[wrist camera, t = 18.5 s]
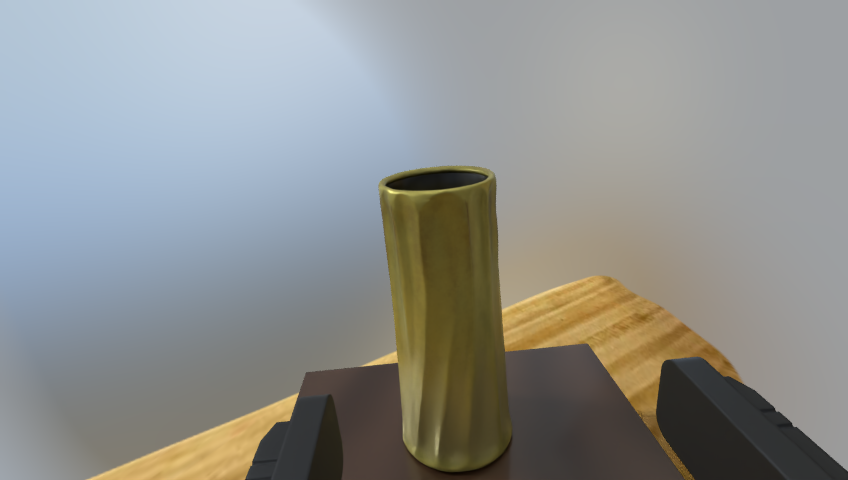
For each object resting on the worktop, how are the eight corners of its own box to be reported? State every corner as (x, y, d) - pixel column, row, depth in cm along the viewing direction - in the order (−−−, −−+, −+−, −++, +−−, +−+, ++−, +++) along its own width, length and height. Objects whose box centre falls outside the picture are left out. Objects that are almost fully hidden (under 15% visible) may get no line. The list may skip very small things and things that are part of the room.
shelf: (583, 410, 32) (587, 343, 30) (694, 608, 20) (712, 517, 18) (320, 438, 32) (305, 371, 30) (269, 655, 20) (239, 569, 18)
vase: (386, 414, 25) (351, 178, 20) (474, 378, 28) (461, 158, 23) (432, 495, 20) (399, 204, 15) (536, 443, 22) (536, 175, 18)
